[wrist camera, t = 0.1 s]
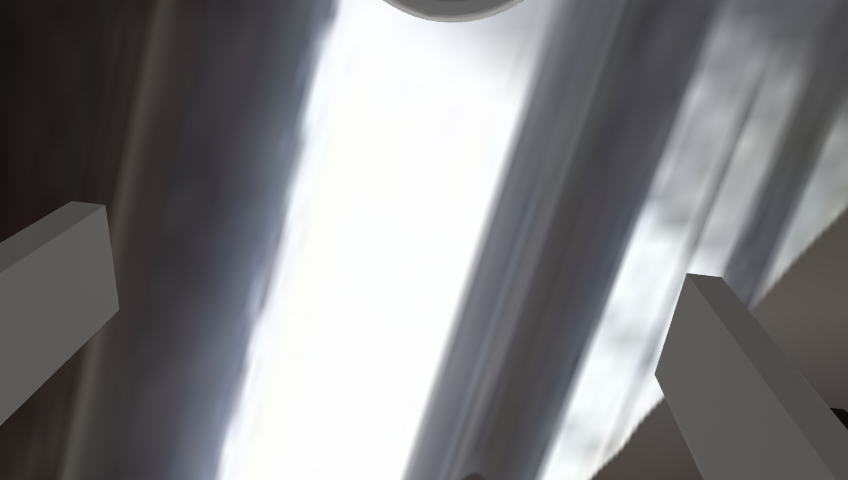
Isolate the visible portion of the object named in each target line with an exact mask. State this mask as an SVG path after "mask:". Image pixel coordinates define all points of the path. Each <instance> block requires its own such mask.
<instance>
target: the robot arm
mask: <svg viewBox="0 0 848 480" xmlns="http://www.w3.org/2000/svg"><path fill="white" fill-rule="evenodd" d="M118 310H119V306H118V298H117V291H116V283H115V276H114V268H113V261H112V253H111V246H110V238H109V231H108V223H107V216H106V208H105V205H99V204H91V203H82V202H74V201H71V202H70V203H68V204H66V205H65V206H63V207H61V208H59V209H58V210H56V211H54V212H53V213H51V214H49V215H47V216H46V217H44V218H42V219H41V220H39V221H37V222H36V223H34V224H32V225H30V226H29V227H27V228H25V229H24V230H22V231H20V232H18V233H17V234H15V235H13V236H12V237H10V238H8V239H6V240H5V241H3V242H1V243H0V425H1V424H2V423H3V422H4V421H5V420H6V419H7V418H8V417H9V416H10V415H11V414H12V413H13V412H14V411H16V410H17V409H18V408H19V407H20V406H21V405H22V404H23V403H24V402H25V401H26V400H27V399H28V398H29V397H30V396H31V395H32V394H33V393H34V392H35V391H36V390H37V389H38V388H39V387H40V386H41V385H42V384H43V383H44V382H45V381H46V380H47V379H48V378H49V377H50V376H51V375H52V374H53V373H54V372H56V371H57V370H58V369H59V368H60V367H61V366H62V365H63V364H64V363H65V362H66V361H67V360H68V359H69V358H70V357H71V356H72V355H73V354H74V353H75V352H76V351H77V350H78V349H79V348H80V347H81V346H82V345H83V344H84V343H85V342H86V341H87V340H88V339H89V338H90V337H91V336H92V335H93V334H94V333H96V332H97V331H98V330H99V329H100V328H101V327H102V326H103V325H104V324H105V323H106V322H107V321H108V320H109V319H110V318H111V317H112V316H113V315H114V314H115V313H116V312H117V311H118ZM655 376H656V378H657V380H658V382H659V385H660V387H661V389H662V391H663V393H664V395H665V397H666V400H667V402H668V404H669V406H670V408H671V410H672V413H673V415H674V417H675V419H676V421H677V423H678V425H679V428H680V430H681V432H682V434H683V436H684V438H685V441H686V443H687V445H688V447H689V449H690V451H691V453H692V456H693V458H694V460H695V462H696V464H697V466H698V469H699V471H700V473H701V475H702V477H703V479H704V480H848V412H846V411H845V410H843V409H836V408H829V407H828V406H827V404H826V403H825V402H824V401H823V400H822V398H821V397H820V396H819V395H818V394H817V392H816V391H815V390H814V389H813V388H812V386H811V385H810V384H809V383H808V381H807V380H806V379H805V378H804V377H803V375H802V374H801V373H800V372H799V371H798V369H797V368H796V367H795V366H794V365H793V363H792V362H791V361H790V360H789V358H788V357H787V356H786V355H785V354H784V352H783V351H782V350H781V349H780V348H779V346H778V345H777V344H776V343H775V342H774V340H773V339H772V338H771V337H770V336H769V334H768V333H767V332H766V331H765V329H764V328H763V327H762V326H761V325H760V324H759V322H758V321H757V320H756V319H755V317H754V316H753V315H752V314H751V313H750V311H749V310H748V309H747V308H746V306H745V305H744V304H743V303H742V302H741V300H740V299H739V298H738V297H737V296H736V294H735V293H734V292H733V291H732V290H731V288H730V287H729V286H728V285H727V284H726V282H725V281H724V280H723V279H722V277H715V276H706V275H698V274H689V273H687V274H686V277H685V280H684V283H683V286H682V290H681V293H680V296H679V299H678V302H677V305H676V308H675V312H674V315H673V318H672V321H671V324H670V327H669V330H668V334H667V337H666V340H665V343H664V346H663V349H662V352H661V356H660V359H659V362H658V365H657V368H656V371H655Z"/></svg>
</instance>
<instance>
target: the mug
mask: <svg viewBox="0 0 848 480" xmlns="http://www.w3.org/2000/svg"><path fill="white" fill-rule="evenodd" d="M384 1H385V2H387V3H388V4H390V5H391V6H393V7H395V8H397V9H399V10H401V11H403V12H405V13H407V14H410V15H412V16H415V17H419V18H422V19H426V20H431V21H437V22H467V21H474V20H480V19H483V18H487V17H491V16H493V15H496V14H499V13H501V12H503V11H505V10H507V9H509V8H511V7H513V6H515V5H517V4H518V3H520V2H522V1H523V0H384Z"/></svg>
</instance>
